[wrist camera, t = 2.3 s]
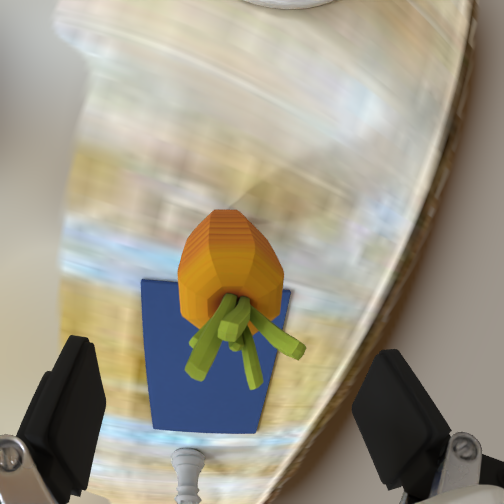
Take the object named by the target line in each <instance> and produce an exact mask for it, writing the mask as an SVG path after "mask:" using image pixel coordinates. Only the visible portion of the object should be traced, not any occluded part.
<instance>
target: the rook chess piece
mask: <svg viewBox="0 0 504 504" xmlns="http://www.w3.org/2000/svg"><path fill="white" fill-rule="evenodd" d="M171 458H172V461H171V463H172V465H173V467H174V469H175V471H176V473H177V478H178V487H177V488H176V489H177V491H178V495H177V496H176V497H175V498H174V499H175V501H176V502H177V504H199V503H200V502H201V501H202V500H201V498H200V497H199V496H198V495H197V493H198V492H199V489H198V477H199V473H200V472H201V470H202V469H203V467H204V465H205V464H204V460H205V457H204V455H203V454H202V453H201V452H199V451H197V450H195V449H190V448H182V449H178V450H176V451H174V452H173V453H172V455H171Z"/></svg>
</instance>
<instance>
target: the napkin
mask: <svg viewBox="0 0 504 504" xmlns="http://www.w3.org/2000/svg"><path fill="white" fill-rule="evenodd" d="M290 294H291V291H290V290H282V300H281V309H280V315H278V316H277V317H276V318H275V319H273V320H272V321H271V322H273V323H274V324H275V325H276V326H278V327H279V328H280V329H281V330H282V329H283V325H284V320H285V316H286V312H287V307H288V303H289V299H290ZM141 301H142V321H143V337H144V350H145V362H146V372H147V382H148V391H149V399H150V407H151V415H152V422H153V429H159V430H170V431H182V432H198V433H228V434H254V433H256V430H257V426H258V423H259V419H260V415H261V412H262V408H263V404H264V401H265V397H266V393H267V389H268V385H269V381H270V377H271V374H272V370H273V366H274V362H275V358H276V354H277V350H278V349H276V348H275V347H273V346H272V345H271V344H270V342H269V341H268V340H267V339H266V338H265V337H264V336H263V335H262V334H261V333H260V332H259V331H258V332H257V333H256V334H254V335H253V339H254V343H255V347H256V351H257V355H258V359H259V363H260V367H261V371H262V376H263V383H262V384H261V385H260V386H259V387H258V388H257V389H254V390H250V388H249V385H248V382H247V378H246V374H245V369H244V362H243V356H242V350H240V351H232V350H231V349H229V343H228V341H224V340H223V341H222V343H221V345H220V348H219V350H218V353H217V355H216V357H215V360H214V362H213V364H212V366H211V367H210V369H209V371H208V373H207V375H206V377H205V379H204V380H203V381H202V382H200V381H198V380H195V379H193V378H191V377H190V376H189V375H188V373H187V372H186V371H185V366H186V364H187V361H188V359H189V357H190V355H191V352H192V350H193V348H192V347H191V346H190V345H189V341H190V340H191V338H192V337H193V336H194V335H195V334H196V333H197V332H198V331H199V330H200V329H198V328H197V327H196V326H194V325H193V324H192V323H190V322H189V321H188V320H186V319H185V318H184V317H183V316H182V314H181V311H180V299H179V286H178V282H167V281H156V280H145V279H142V280H141Z"/></svg>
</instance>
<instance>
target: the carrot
mask: <svg viewBox="0 0 504 504" xmlns="http://www.w3.org/2000/svg"><path fill="white" fill-rule="evenodd" d="M283 280H284V271H283V268H282V266H281V264H280V262H279V260H278V258H277V256H276V254H275V252H274V250H273V249H272V247H271V245H270V243H269V242H268V240H267V239H266V238H265V237H264V236H263V235H262V233H261V232H260V231H259V230H258V229H257V228H256V227H255V226H254V225H253V224H252V223H251V222H250V221H249V220H248V219H247V218H246V217H245V216H244V215H243V214H242V213H241V212H239V211H238V210H214V211H213V212H211V213H210V214H209V215H208V216H207V217H206V218H205V219H204V220H203V221H202V222H201V223H200V224H199V225H198V226H197V227H196V228H195V229H194V231H193V232H192V233H191V235H190V236H189V237H188V239H187V241H186V244H185V247H184V250H183V253H182V256H181V260H180V264H179V268H178V286H179V299H180V311H181V314H182V316H183V317H184V318H185V319H186V320H188V321H189V322H190V323H192V324H193V325H194V326H196V327H197V328H198V329H200V330H199V331H198V332H197V333H196V334H195V335H194V336H193V337H192V338H191V340H190V341H189V345H190V346H191V347H192V348H193V350H192V352H191V355H190V357H189V359H188V361H187V364H186V366H185V371H186V372H187V373H188V375H189V376H190V377H191V378H193V379H195V380H198V381H200V382H202V381H203V380H204V379H205V377H206V375H207V373H208V371H209V369H210V367H211V366H212V364H213V362H214V360H215V357H216V355H217V353H218V350H219V348H220V345H221V343H222V341H223V340H224V341H228V343H229V349H231V350H232V351H240V350H242V356H243V362H244V369H245V374H246V378H247V382H248V385H249V388H250V390H254V389H257V388H258V387H259V386H260V385H261V384H262V383H263V376H262V371H261V367H260V363H259V359H258V355H257V351H256V347H255V343H254V339H253V335H254V334H256V333H257V332H258V331H259V332H260V333H261V334H262V335H263V336H264V337H265V338H266V339H267V340H268V341H269V342H270V344H271V345H272V346H273V347H275V348H276V349H278V350H279V351H280V352H282V353H283V354H285V355H287V356H289V357H292V358H294V359H296V360H299V359H300V358H301V357H302V356H303V355H304V352H305V350H306V347H305V345H304V344H303V343H301V342H300V341H298V340H297V339H295V338H294V337H292V336H290V335H289V334H287V333H285V332H284V331H283V330H281V329H280V328H279V327H278V326H276V325H275V324H274V323H273V322H271V321H272V320H273V319H275V318H276V317H277V316H278V315H280V309H281V300H282V290H283Z"/></svg>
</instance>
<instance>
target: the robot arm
mask: <svg viewBox="0 0 504 504" xmlns="http://www.w3.org/2000/svg"><path fill="white" fill-rule="evenodd" d="M244 1H247V2H250V3H253V4H255V5H261V6H265V7H270V8H279V9H304V8H311V7H315V6H320V5H323V4H326V3H328V2H331V1H333V0H244ZM105 408H106V397H105V393H104V389H103V385H102V381H101V376H100V372H99V367H98V362H97V357H96V352H95V347H94V344H93V343H90V342H89V339H88V338H87V337H80V336H74V335H71V336H69V338H68V340H67V342H66V344H65V345H64V347H63V349H62V351H61V353H60V355H59V357H58V359H57V361H56V363H55V365H54V368H53V369H52V371H47V372H45V374H44V375H43V377H42V379H41V381H40V383H39V386H38V388H37V390H36V392H35V394H34V396H33V398H32V400H31V403H30V405H29V407H28V409H27V411H26V414H25V416H24V418H23V421H22V423H21V425H20V428H19V430H18V432H17V435H16V436H13V435H8V434H4V435H0V504H67V503H68V502H69V500H70V495H75V496H79V497H80V495H81V491H82V490H86V489H87V486H88V482H89V477H90V472H91V467H92V462H93V458H94V453H95V449H96V445H97V440H98V436H99V432H100V428H101V424H102V420H103V416H104V412H105ZM352 413H353V416H354V418H355V420H356V423H357V425H358V427H359V430H360V432H361V434H362V436H363V439H364V441H365V444H366V446H367V448H368V451H369V453H370V456H371V458H372V460H373V463H374V465H375V467H376V470H377V472H378V475H379V477H380V480H381V482H382V483H383V484H386V486H387V488H388V490H392V489H395V488H399V487H401V486H403V488H404V493H403V496H402V498H401V501H400V504H504V462H502V461H499V460H497V459H494V458H492V457H489V456H486V455H484V454H482V448H481V445H480V443H479V441H478V440H477V439H476V438H475V437H474V436H473V435H471V434H469V433H465V432H458V433H455V434H453V436H452V437H451V436H450V435H449V433H450V432H451V431H452V430H451V429H450V427H449V426H448V424H447V422H446V421H445V419H444V418H443V416H442V415H441V413H440V411H439V410H438V408H437V407H436V405H435V404H434V402H433V401H432V399H431V398H430V396H429V395H428V393H427V392H426V390H425V389H424V387H423V386H422V384H421V383H420V381H419V380H418V378H417V377H416V375H415V374H414V372H413V371H412V369H411V368H410V366H409V365H408V363H407V362H406V361H405V359H404V358H403V356H402V355H401V353H400V352H399V351H398V350H397V349H390V350H381V351H380V352H379V354H377V355H376V356H375V358H374V360H373V362H372V365H371V367H370V369H369V371H368V373H367V375H366V378H365V380H364V382H363V384H362V386H361V388H360V390H359V392H358V394H357V396H356V398H355V401H354V402H353V404H352Z"/></svg>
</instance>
